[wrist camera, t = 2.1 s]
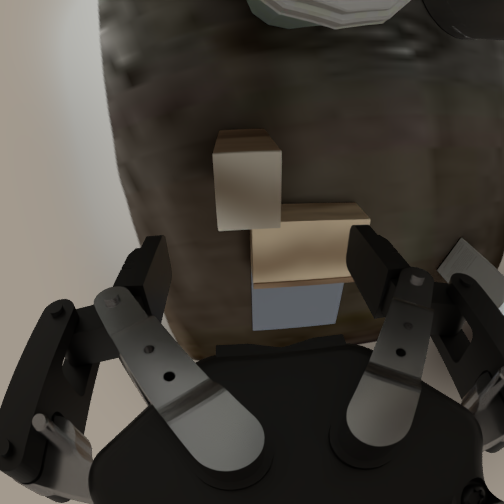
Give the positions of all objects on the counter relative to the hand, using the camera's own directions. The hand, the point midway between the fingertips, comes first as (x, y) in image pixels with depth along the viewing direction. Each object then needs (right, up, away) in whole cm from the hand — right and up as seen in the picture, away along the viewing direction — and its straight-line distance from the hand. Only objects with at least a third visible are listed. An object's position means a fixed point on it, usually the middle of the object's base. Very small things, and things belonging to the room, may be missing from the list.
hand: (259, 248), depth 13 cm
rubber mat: (+5, -6, +23) cm, 24 cm away
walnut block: (-1, +9, +14) cm, 16 cm away
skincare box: (+28, -1, +22) cm, 36 cm away
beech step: (+5, +2, +18) cm, 19 cm away
